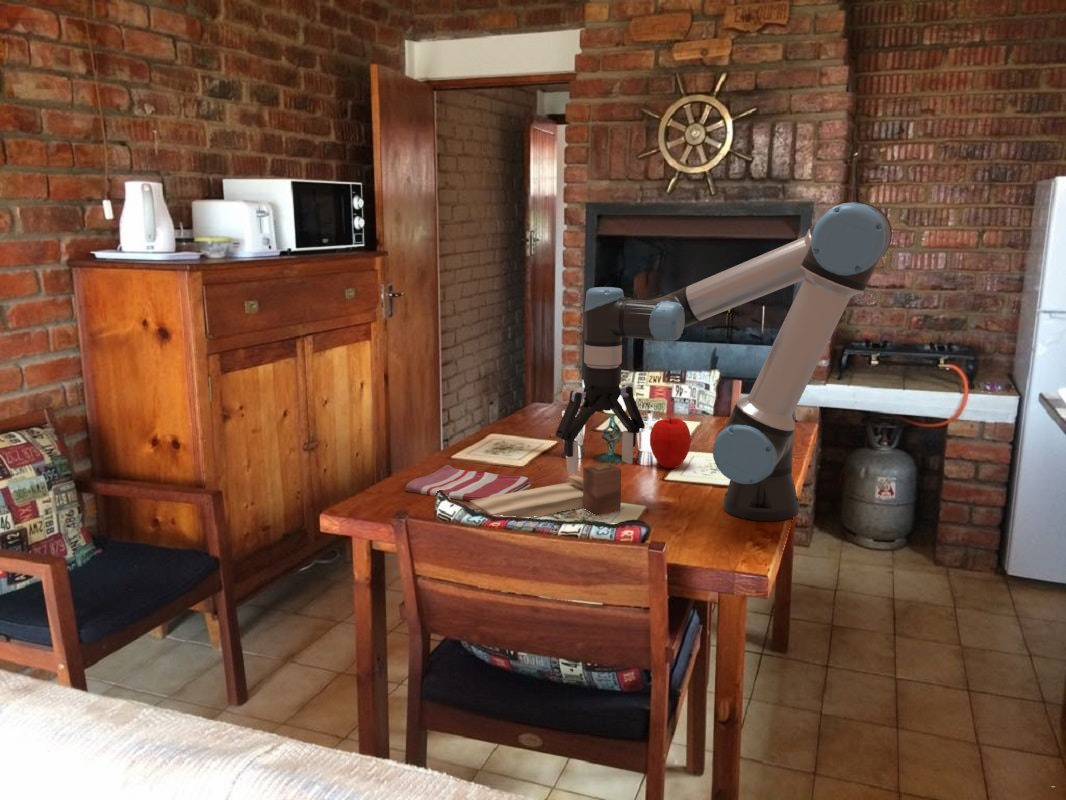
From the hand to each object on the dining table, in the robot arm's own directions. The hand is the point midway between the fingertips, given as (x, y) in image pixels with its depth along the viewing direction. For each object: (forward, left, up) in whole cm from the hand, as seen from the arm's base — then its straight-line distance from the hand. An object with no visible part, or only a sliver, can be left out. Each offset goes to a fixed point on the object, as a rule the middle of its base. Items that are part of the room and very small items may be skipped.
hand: (600, 467), depth 185 cm
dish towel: (+28, +17, -10) cm, 34 cm away
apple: (+18, -32, -9) cm, 38 cm away
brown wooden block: (+4, 0, -9) cm, 10 cm away
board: (+8, +10, -9) cm, 15 cm away
